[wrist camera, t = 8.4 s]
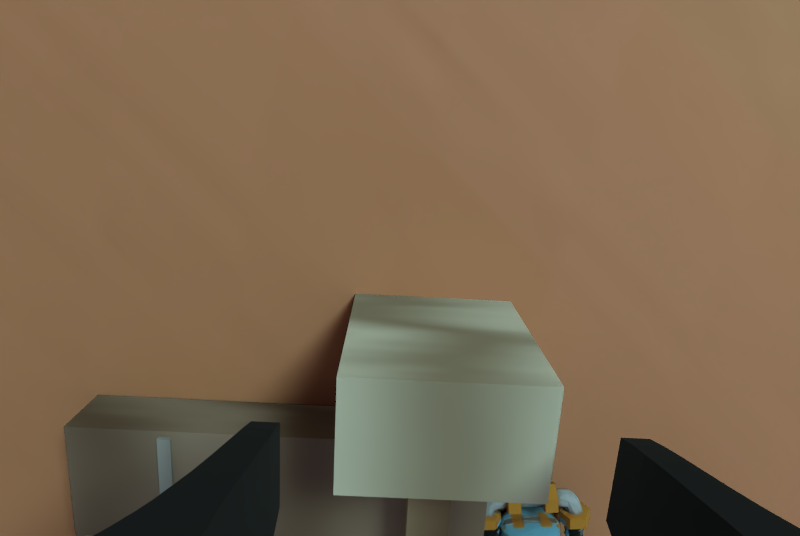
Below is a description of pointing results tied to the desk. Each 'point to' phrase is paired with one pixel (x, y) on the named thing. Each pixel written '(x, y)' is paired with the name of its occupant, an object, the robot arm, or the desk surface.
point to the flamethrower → (538, 516)
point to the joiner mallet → (443, 407)
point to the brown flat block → (198, 439)
